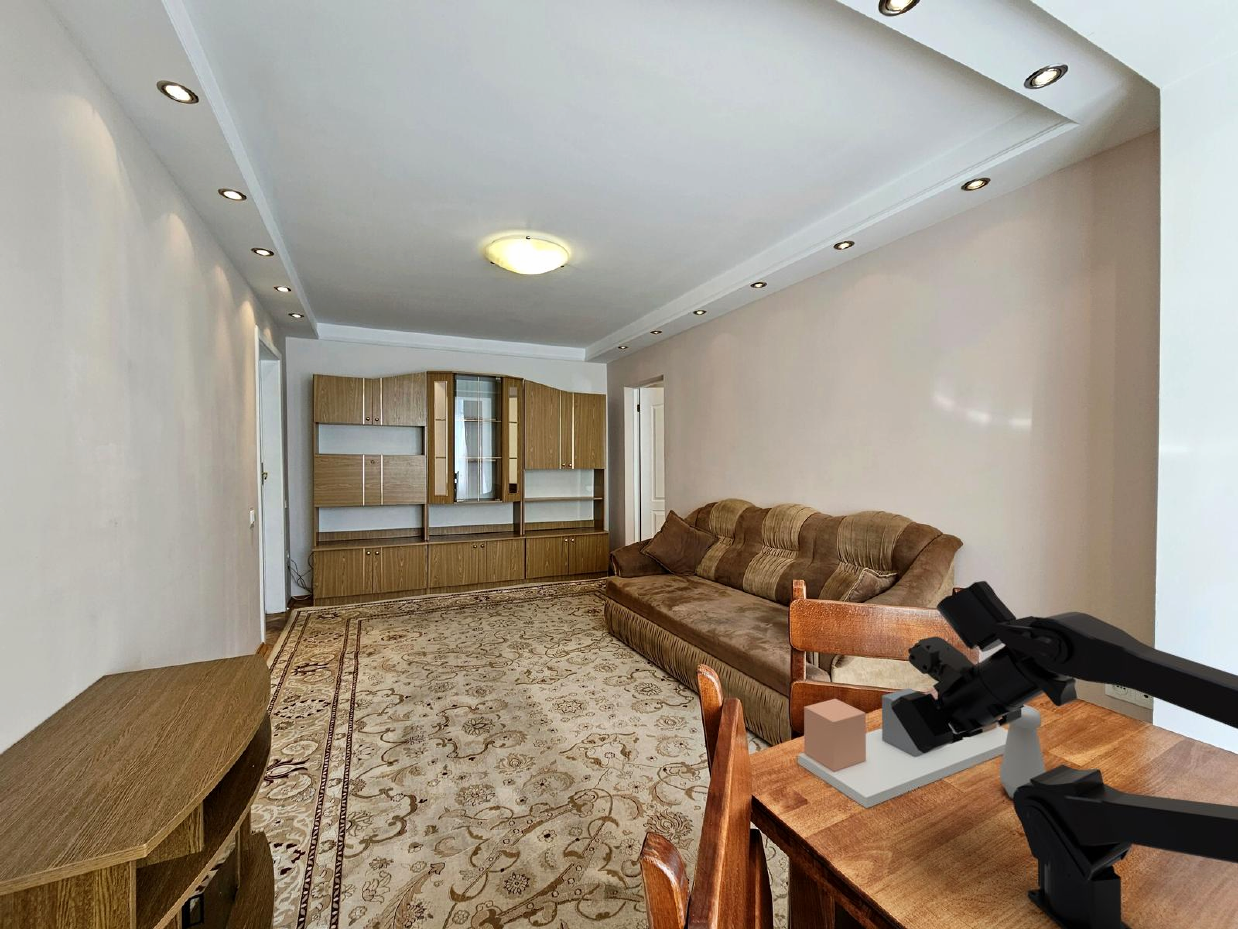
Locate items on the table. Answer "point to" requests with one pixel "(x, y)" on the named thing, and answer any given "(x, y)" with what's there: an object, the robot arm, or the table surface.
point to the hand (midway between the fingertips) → (915, 736)
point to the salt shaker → (1022, 751)
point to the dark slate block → (896, 725)
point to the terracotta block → (835, 734)
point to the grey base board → (905, 766)
